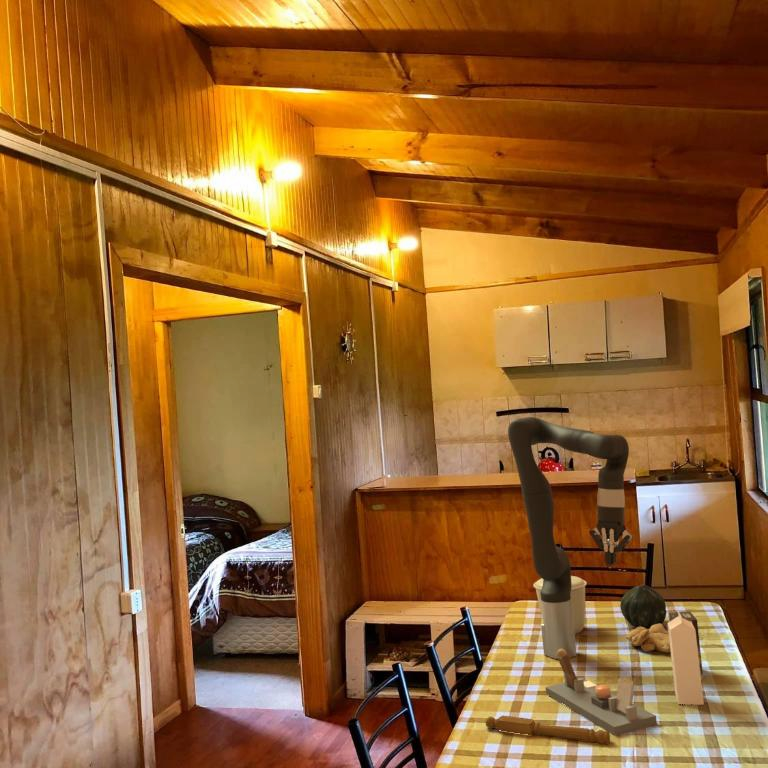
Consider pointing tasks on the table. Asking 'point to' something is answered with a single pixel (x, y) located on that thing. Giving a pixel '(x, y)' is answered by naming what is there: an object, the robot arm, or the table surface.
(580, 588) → the canister
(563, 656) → the walnut lever
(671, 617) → the coffee box
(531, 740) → the table surface
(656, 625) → the ginger root
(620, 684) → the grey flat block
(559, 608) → the robot arm
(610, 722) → the control panel
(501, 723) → the turned wooden table leg
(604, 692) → the terracotta button
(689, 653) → the milk
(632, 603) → the squash
